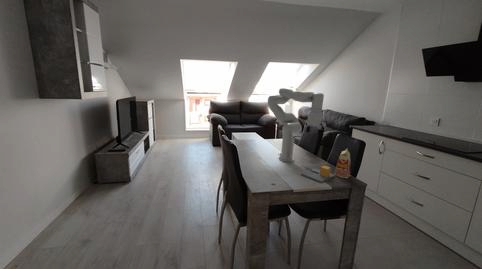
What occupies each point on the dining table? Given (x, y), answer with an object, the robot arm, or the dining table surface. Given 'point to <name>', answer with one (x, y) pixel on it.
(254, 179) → the dining table surface
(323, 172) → the amber toy cube
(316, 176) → the plate
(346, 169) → the milk carton
